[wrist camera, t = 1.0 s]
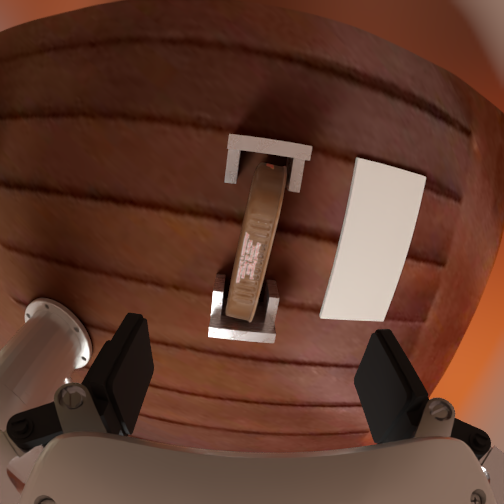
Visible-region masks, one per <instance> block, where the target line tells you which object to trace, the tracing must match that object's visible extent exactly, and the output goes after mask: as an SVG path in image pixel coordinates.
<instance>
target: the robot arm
mask: <svg viewBox="0 0 504 504" xmlns="http://www.w3.org/2000/svg"><path fill="white" fill-rule="evenodd" d="M91 355H92V344H91V340H90V337H89V335H88V333H87V331H86V329H85V327H84V326H83V325H82V323H81V322H80V320H79V319H78V318H77V317H76V316H75V315H74V314H73V313H72V312H71V311H70V310H69V309H68V308H66V307H65V306H63V305H62V304H60V303H58V302H56V301H54V300H52V299H48V298H38V299H35V300H33V301H32V302H31V303H30V304H29V305H28V307H27V308H26V311H25V324H24V325H23V326H22V327H21V328H20V329H19V330H18V332H17V333H16V334H15V335H14V336H13V337H12V338H11V339H10V340H9V342H8V343H7V344H6V345H5V346H4V347H3V348H2V350H1V351H0V504H504V453H503V452H502V451H500V450H499V449H498V448H497V447H495V446H493V447H491V441H490V438H489V436H488V434H487V433H486V432H484V431H483V430H481V429H478V428H476V427H474V426H471V425H469V424H467V423H465V422H462V421H461V420H458V419H456V418H455V410H454V407H453V406H452V404H450V403H449V402H448V401H447V400H445V399H442V398H433V399H430V400H429V398H428V393H427V391H426V389H425V387H424V386H423V384H422V382H421V380H420V379H419V377H418V375H417V373H416V372H415V370H414V368H413V366H412V365H411V363H410V361H409V360H408V358H407V356H406V354H405V353H404V351H403V349H402V348H401V346H400V344H399V343H398V341H397V340H396V338H395V336H394V335H393V333H392V331H391V330H390V329H378V330H376V331H375V333H373V334H372V335H371V338H370V340H369V343H368V345H367V348H366V351H365V353H364V356H363V358H362V360H361V363H360V365H359V368H358V370H357V372H356V375H355V377H354V384H355V387H356V390H357V393H358V396H359V399H360V401H361V404H362V407H363V410H364V413H365V416H366V419H367V422H368V425H369V428H370V431H371V434H372V437H373V440H374V442H375V443H377V444H376V445H370V446H363V447H356V448H348V449H339V450H328V451H314V452H293V453H255V452H234V451H220V450H209V449H200V448H192V447H184V446H177V445H171V444H165V443H159V442H153V441H148V440H142V439H137V438H132V437H127V436H128V434H130V435H131V434H132V433H133V430H134V427H135V424H136V421H137V418H138V415H139V412H140V409H141V406H142V403H143V400H144V398H145V395H146V392H147V389H148V386H149V383H150V380H151V378H152V375H153V371H154V364H153V359H152V352H151V346H150V339H149V332H148V325H147V320H146V319H145V318H143V316H142V315H141V314H135V313H128V314H127V315H126V317H125V318H124V320H123V321H122V323H121V325H120V326H119V328H118V330H117V331H116V333H115V335H114V336H113V338H112V340H111V341H110V340H108V341H106V343H105V344H104V346H103V347H102V349H101V351H100V352H99V354H98V356H97V357H96V359H95V361H94V362H93V364H92V366H91V368H90V369H89V371H88V373H87V375H86V376H85V378H84V380H83V382H82V383H81V384H79V383H73V382H72V379H71V377H70V375H71V373H72V372H73V370H74V369H77V368H81V367H83V366H85V365H86V364H87V363H88V361H89V359H90V358H91ZM64 381H65V384H64ZM53 400H54V402H53Z"/></svg>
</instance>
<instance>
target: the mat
mask: <svg viewBox="0 0 504 504" xmlns="http://www.w3.org/2000/svg"><path fill="white" fill-rule="evenodd" d="M425 180H426V177H425V176H422V175H419V174H416V173H413V172H409V171H406V170H403V169H399V168H396V167H392V166H388V165H385V164H381V163H377V162H373V161H370V160H366V159H361V158H357V157H356V161H355V167H354V173H353V178H352V183H351V188H350V193H349V198H348V203H347V208H346V213H345V217H344V222H343V226H342V231H341V235H340V239H339V244H338V248H337V252H336V256H335V260H334V264H333V268H332V272H331V275H330V279H329V283H328V287H327V290H326V294H325V297H324V301H323V305H322V308H321V311H320V315H319V316H320V318H323V319H341V320H361V321H384V318H385V316H386V313H387V311H388V308H389V305H390V303H391V300H392V297H393V295H394V292H395V289H396V286H397V283H398V280H399V277H400V274H401V271H402V268H403V265H404V262H405V259H406V256H407V252H408V249H409V246H410V242H411V239H412V235H413V231H414V228H415V224H416V220H417V216H418V212H419V208H420V204H421V199H422V195H423V190H424V185H425Z"/></svg>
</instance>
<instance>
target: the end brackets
mask: <svg viewBox="0 0 504 504" xmlns="http://www.w3.org/2000/svg"><path fill="white" fill-rule="evenodd" d="M227 149H228V157H227V165H226V173H225V181H224V182H225V183H234V184H236V181H237V176H238V168H239V161H240V153H241V150H243V151H251V152H258V153H266V154H272V155H279V156H285V157H287V161H286V167H287V176H286V186H285V188H286V189H287V190H288V191H292V192H299V193H300V187H301V181H302V175H303V169H304V163H305V160H309V161H310V158H311V152H312V146H308V145H303V144H297V143H291V142H285V141H279V140H273V139H266V138H259V137H252V136H244V135H236V134H229V139H228V146H227ZM225 276H226V275H225V274H216V279H215V284H214V289H213V298H212V310H211V319H210V325H209V335H208V337H214V338H223V339H232V340H242V341H252V342H264V343H274V340H275V336H276V331H275V324H274V321H275V317H276V312H277V307H278V303H279V294H278V289H277V284H276V280H269V279H267V281H266V287H265V293H264V298H263V302H258V304H257V308H256V311H255V314H254V317H253V320H252V322H249V321H247V320H243V319H238V318H234V317H230V316H227V315H226V305H227V299H228V298H223V294H224V285H225Z"/></svg>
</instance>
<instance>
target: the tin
mask: <svg viewBox="0 0 504 504" xmlns="http://www.w3.org/2000/svg"><path fill="white" fill-rule="evenodd" d="M286 176H287V167H286V166H283V167H282V166H277V165H273V164H269V163H260V164H259V165H258V166H257V168H256V171H255V174H254V177H253V181H252V184H251V188H250V193H249V198H248V202H247V206H246V211H245V215H244V220H243V224H242V229H241V233H240V238H239V243H238V247H237V252H236V257H235V262H234V267H233V272H232V277H231V283H230V288H229V294H228V299H227V305H226V315H227V316H230V317H234V318H238V319H243V320H247V321H249V322H252V320H253V317H254V314H255V311H256V308H257V304H258V300H259V296H260V292H261V288H262V284H263V280H264V276H265V273H266V268H267V264H268V261H269V257H270V252H271V248H272V245H273V240H274V236H275V233H276V229H277V225H278V221H279V216H280V212H281V207H282V202H283V196H284V191H285V186H286Z"/></svg>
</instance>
